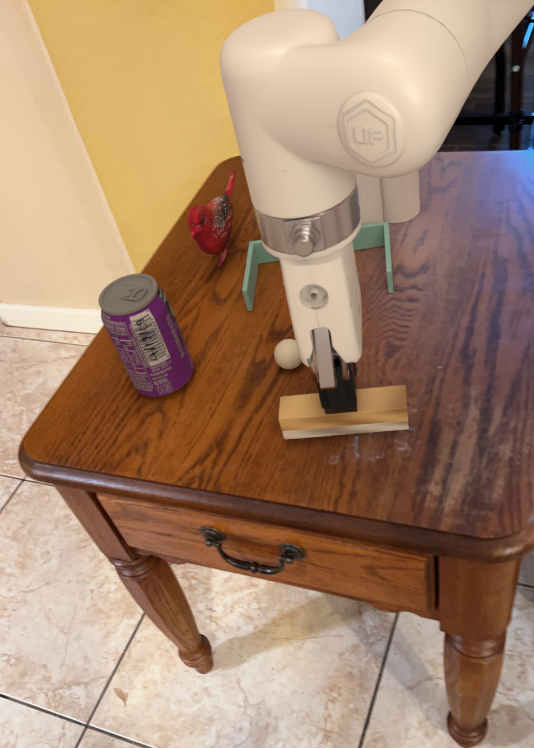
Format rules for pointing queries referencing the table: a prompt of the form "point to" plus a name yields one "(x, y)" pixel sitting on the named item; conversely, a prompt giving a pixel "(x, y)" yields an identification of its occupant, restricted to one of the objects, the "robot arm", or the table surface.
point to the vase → (388, 198)
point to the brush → (344, 412)
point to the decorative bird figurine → (213, 223)
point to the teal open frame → (365, 239)
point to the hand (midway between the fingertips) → (339, 389)
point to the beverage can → (146, 334)
